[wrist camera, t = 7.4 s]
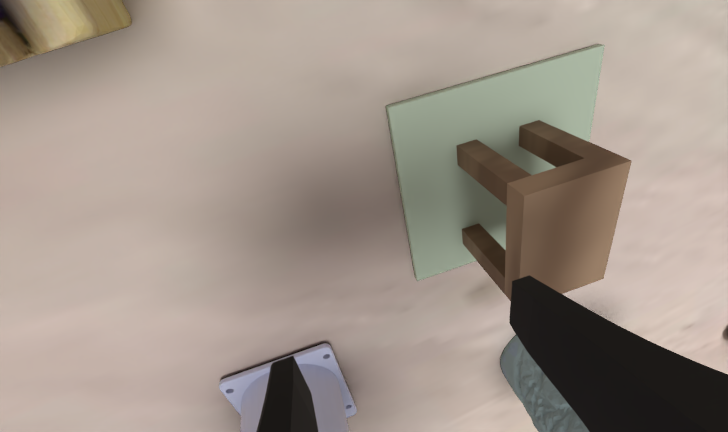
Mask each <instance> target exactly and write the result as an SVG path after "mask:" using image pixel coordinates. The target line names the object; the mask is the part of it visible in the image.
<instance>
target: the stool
mask: <svg viewBox="0 0 728 432" xmlns="http://www.w3.org/2000/svg"><path fill="white" fill-rule="evenodd" d="M519 146H520V147H522V148H523V149H525V150H527V151H529V152H530V153H532V154H534V155H536V156H537V157H539V158H541V159H543V160H544V161H546V162H548V163H550V164H551V165H553V166H555V167H556V168H553V169H550V170H547V171H544V172H541V173H538V174H535V175H531V174H529V173H528V172H526V171H525V170H523V169H522V168H520V167H519V166H517V165H515V164H514V163H512V162H511V161H509V160H508V159H506V158H505V157H503V156H502V155H500V154H499V153H497V152H495V151H494V150H492V149H491V148H489V147H488V146H486V145H485V144H483V143H482V142H480V141H479V140H477V139H476V140H472V141H469V142H466V143H463V144H459V145H456V147H457V163H458V166H460V167H461V168H462V169H463V170H464V171H465V172H467V173H468V174H469V175H470V176H471V177H473V178H474V179H475V180H476V181H477V182H479V183H480V184H481V185H482V186H483V187H485V188H486V189H487V190H488V191H489V192H490V193H492V194H493V195H494V196H495V197H496V198H498V199H499V200H500V201H501V202H502V203H504V204H505V205H506V206H507V213H506V250H505V249H504V248H503V247H502V246H501V245H500V244H499V243H498V242H497V241H496V240H495V239H494V238H493V237H492V236H491V235H490V234H489V233H488V232H487V231H486V230H485V229H484V228H483V227H482V226H481V225H480V224H479V223H478V224H475V225H472V226H469V227H466V228H463V229H462V242H463V245H464V246H465V247H466V248H467V249H468V251H469V252H470V253H471V254H472V255H473V257H474V258H475V259H476V260H477V261H478V263H479V264H480V265H481V266H482V267H483V269H484V270H485V271H486V272H487V273H488V275H489V276H490V277H491V278H492V279H493V281H494V282H495V283H496V284H497V285H498V287H499V288H500V289H501V290H502V291H503V293H504V294H505V295H506V296H507V297H508V299H509V300H510V301H511V292H512V281H514V280H517V279H520V278H523V277H526V276H529V275H530V276H532V277H533V278H535V279H537V280H538V281H540V282H542V283H544V284H545V285H547V286H549V287H550V288H552V289H554V290H555V291H557V292H559V293H561V294H563V293H565V292H568V291H571V290H574V289H576V288H579V287H582V286H585V285H587V284H590V283H593V282H596V281H598V280H601V279H603V278H604V274H605V270H606V265H607V261H608V257H609V253H610V249H611V245H612V240H613V236H614V232H615V228H616V224H617V219H618V215H619V211H620V207H621V203H622V199H623V194H624V190H625V186H626V182H627V178H628V173H629V169H630V165H631V160H629V159H627V158H624V157H622V156H620V155H617V154H615V153H613V152H611V151H608V150H606V149H604V148H601V147H599V146H597V145H595V144H592V143H590V142H588V141H586V140H583V139H581V138H579V137H576V136H574V135H572V134H570V133H567V132H565V131H563V130H560V129H558V128H556V127H554V126H551V125H549V124H547V123H545V122H542V121H540V120H537V121H534V122H531V123H528V124H524V125H521V126H519Z"/></svg>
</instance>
